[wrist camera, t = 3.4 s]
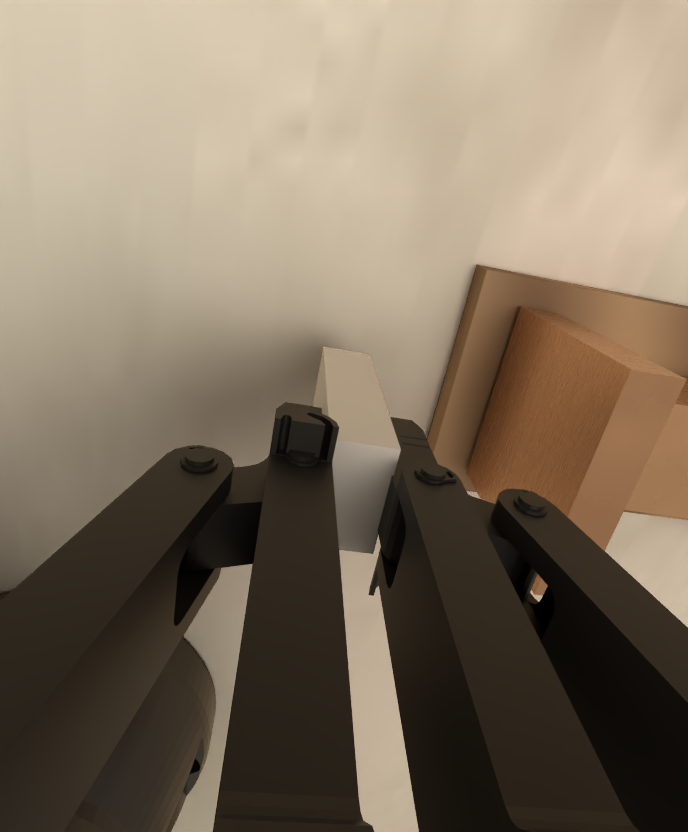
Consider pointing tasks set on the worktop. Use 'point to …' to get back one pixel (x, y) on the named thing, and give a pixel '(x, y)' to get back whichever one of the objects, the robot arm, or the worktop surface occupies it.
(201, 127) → the worktop surface
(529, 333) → the wood grain post
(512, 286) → the board
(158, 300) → the worktop surface
